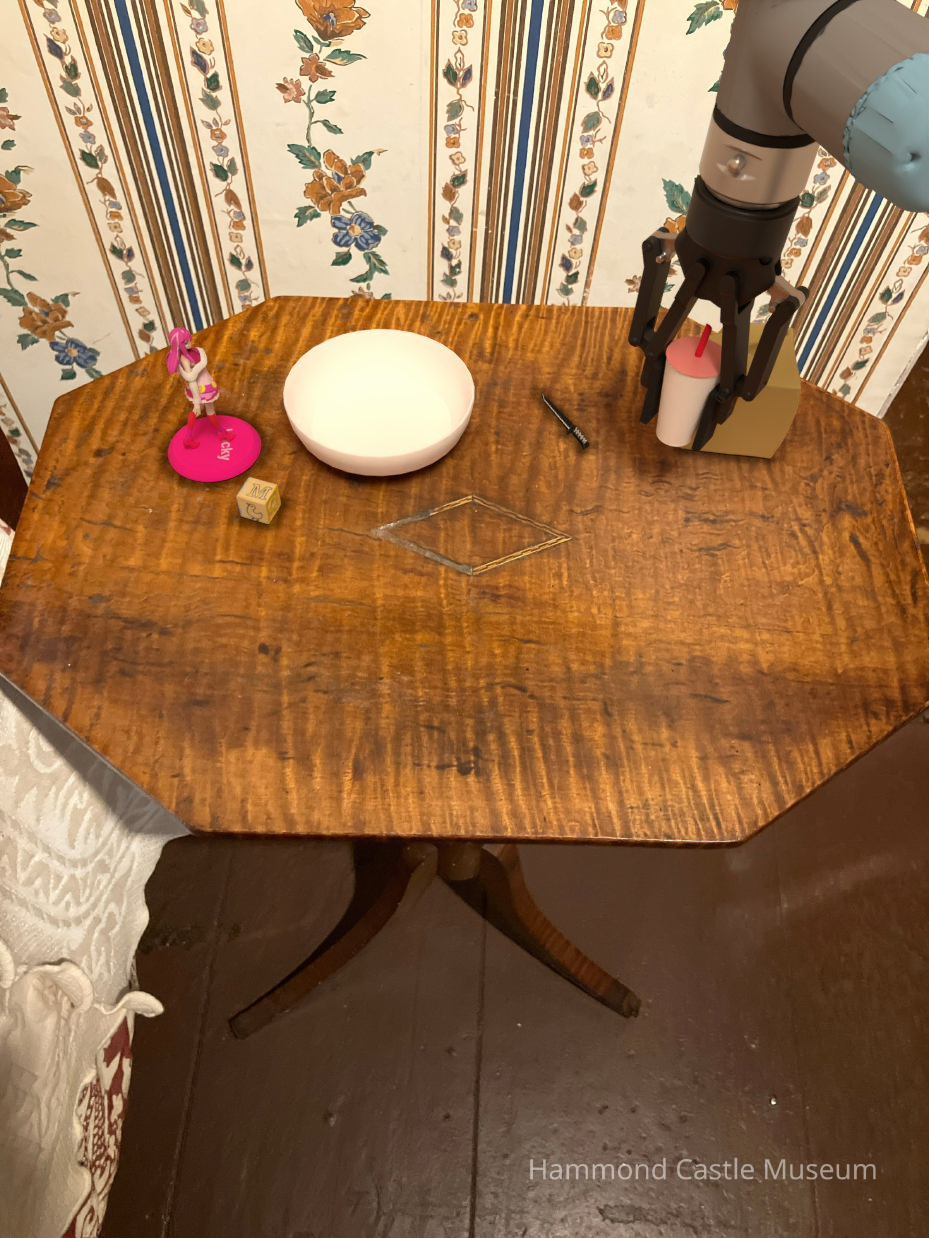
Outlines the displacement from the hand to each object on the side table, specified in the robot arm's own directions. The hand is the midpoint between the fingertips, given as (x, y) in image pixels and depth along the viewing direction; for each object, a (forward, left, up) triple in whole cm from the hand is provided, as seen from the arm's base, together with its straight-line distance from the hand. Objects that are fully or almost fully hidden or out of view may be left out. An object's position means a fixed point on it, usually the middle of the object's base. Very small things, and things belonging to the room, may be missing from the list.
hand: (675, 428), depth 81 cm
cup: (0, 0, -1) cm, 1 cm away
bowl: (+28, +10, -10) cm, 31 cm away
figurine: (+40, +23, -10) cm, 47 cm away
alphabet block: (+30, +26, -10) cm, 41 cm away
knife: (+14, -4, -10) cm, 18 cm away
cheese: (0, -15, -10) cm, 18 cm away
